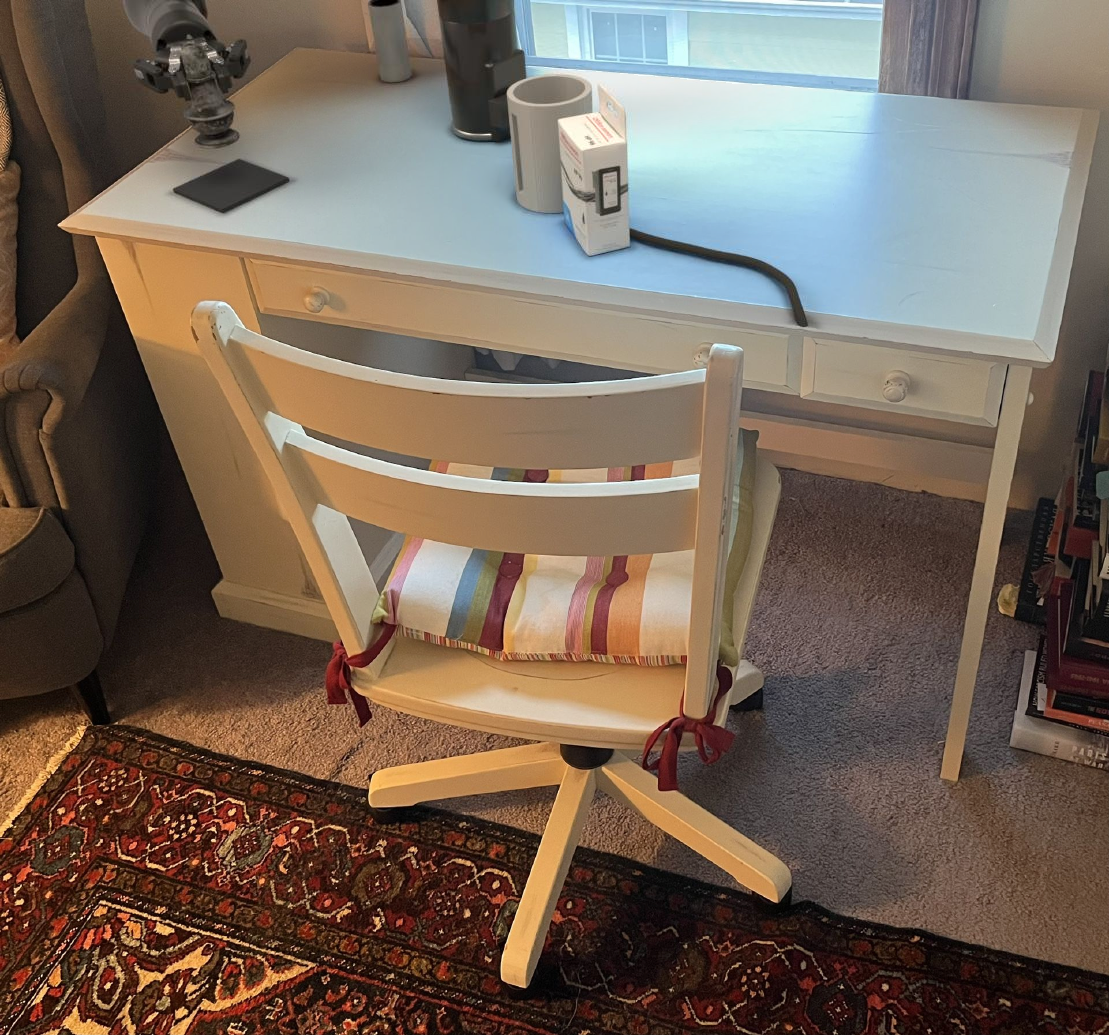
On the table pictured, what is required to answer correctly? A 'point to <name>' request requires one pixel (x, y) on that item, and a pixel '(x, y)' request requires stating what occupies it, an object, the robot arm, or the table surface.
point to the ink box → (596, 176)
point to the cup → (542, 135)
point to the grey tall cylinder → (390, 40)
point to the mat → (231, 185)
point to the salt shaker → (206, 100)
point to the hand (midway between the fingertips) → (205, 88)
